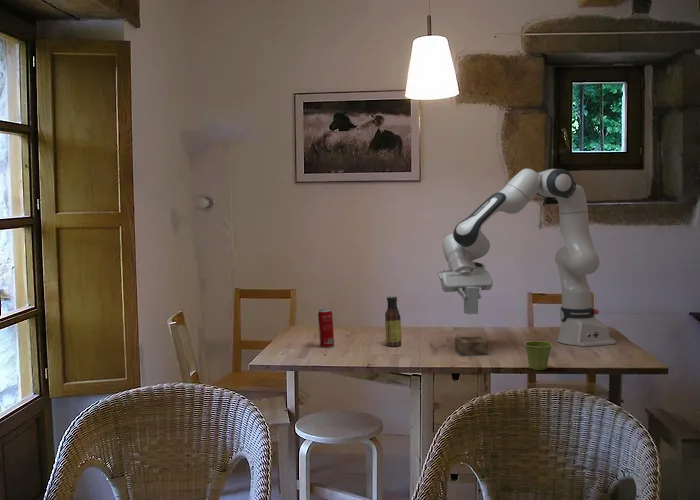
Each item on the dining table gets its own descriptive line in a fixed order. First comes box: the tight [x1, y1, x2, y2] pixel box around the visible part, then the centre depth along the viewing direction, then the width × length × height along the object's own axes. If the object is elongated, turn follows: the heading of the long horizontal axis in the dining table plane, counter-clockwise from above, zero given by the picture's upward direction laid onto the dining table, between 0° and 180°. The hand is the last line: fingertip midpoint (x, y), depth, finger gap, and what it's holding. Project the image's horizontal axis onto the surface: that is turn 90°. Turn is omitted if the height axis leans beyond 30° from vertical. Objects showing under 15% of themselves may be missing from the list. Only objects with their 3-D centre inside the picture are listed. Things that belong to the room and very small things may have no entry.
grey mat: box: [452, 349, 492, 358], centre depth 281 cm, size 12×12×1 cm
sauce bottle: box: [384, 295, 402, 348], centre depth 296 cm, size 7×6×20 cm
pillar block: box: [463, 286, 479, 315], centre depth 279 cm, size 4×4×10 cm
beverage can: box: [317, 308, 335, 349], centre depth 296 cm, size 6×6×15 cm
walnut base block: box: [454, 336, 489, 357], centre depth 280 cm, size 10×10×5 cm
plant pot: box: [524, 340, 553, 371], centre depth 256 cm, size 9×9×9 cm
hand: (472, 298), depth 277 cm, fingers closed on pillar block, 4 cm apart
